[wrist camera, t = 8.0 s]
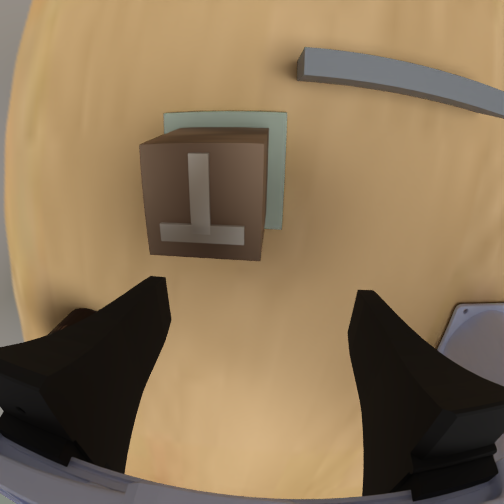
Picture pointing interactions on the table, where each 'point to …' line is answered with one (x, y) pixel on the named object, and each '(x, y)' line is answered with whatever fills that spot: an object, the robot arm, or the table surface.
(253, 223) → the walnut block
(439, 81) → the screen
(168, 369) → the table surface
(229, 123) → the pad
